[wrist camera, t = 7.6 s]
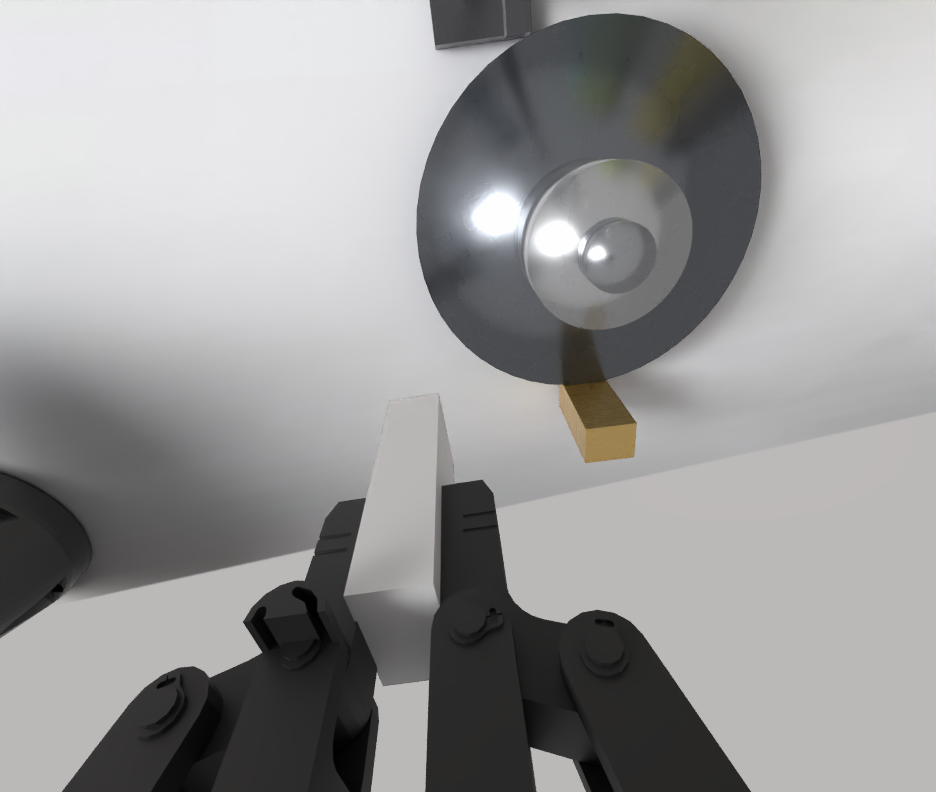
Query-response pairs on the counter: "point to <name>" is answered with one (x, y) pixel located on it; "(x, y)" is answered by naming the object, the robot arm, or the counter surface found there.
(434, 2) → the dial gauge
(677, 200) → the cover
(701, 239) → the turntable
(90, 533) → the counter surface
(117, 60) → the counter surface
